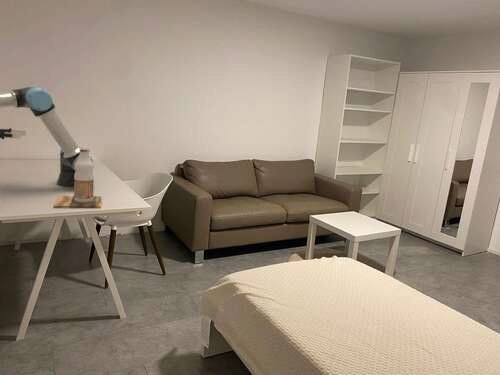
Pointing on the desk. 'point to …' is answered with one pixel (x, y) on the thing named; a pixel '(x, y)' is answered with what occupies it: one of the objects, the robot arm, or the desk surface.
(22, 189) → the desk surface
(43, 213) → the desk surface
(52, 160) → the desk surface
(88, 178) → the fruit juice
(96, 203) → the floor panel
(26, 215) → the desk surface
